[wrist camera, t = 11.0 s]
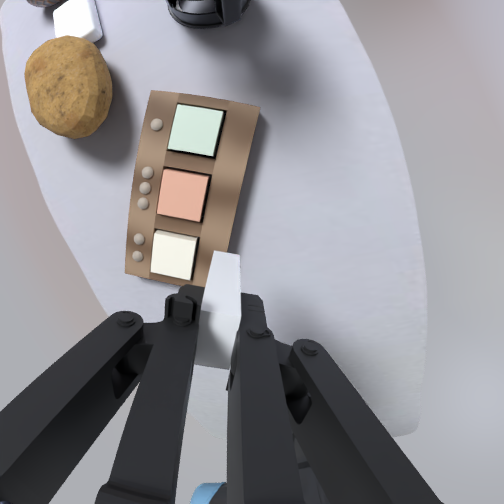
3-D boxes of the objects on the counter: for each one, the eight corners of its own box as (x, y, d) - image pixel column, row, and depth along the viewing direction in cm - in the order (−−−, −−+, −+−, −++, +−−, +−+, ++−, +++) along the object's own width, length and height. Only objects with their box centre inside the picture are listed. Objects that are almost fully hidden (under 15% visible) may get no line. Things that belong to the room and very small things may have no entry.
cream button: (193, 268, 32) (189, 280, 29) (157, 261, 31) (150, 271, 28) (199, 232, 30) (195, 241, 28) (161, 225, 30) (154, 233, 27)
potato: (84, 160, 27) (45, 167, 19) (40, 85, 22) (2, 78, 15) (146, 105, 25) (117, 92, 18) (94, 31, 21) (62, 10, 13)
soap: (105, 37, 21) (94, 30, 19) (69, 60, 22) (57, 55, 19) (94, -5, 18) (85, -13, 16) (61, 17, 19) (50, 11, 16)
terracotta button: (203, 214, 30) (199, 221, 27) (164, 207, 29) (156, 213, 26) (210, 174, 28) (207, 177, 25) (170, 167, 28) (163, 169, 25)
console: (219, 282, 33) (218, 294, 30) (131, 264, 32) (124, 273, 29) (258, 110, 26) (260, 106, 24) (157, 94, 25) (150, 89, 22)
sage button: (215, 155, 27) (212, 156, 25) (174, 148, 27) (167, 148, 24) (224, 115, 26) (223, 111, 23) (183, 108, 25) (177, 104, 23)
